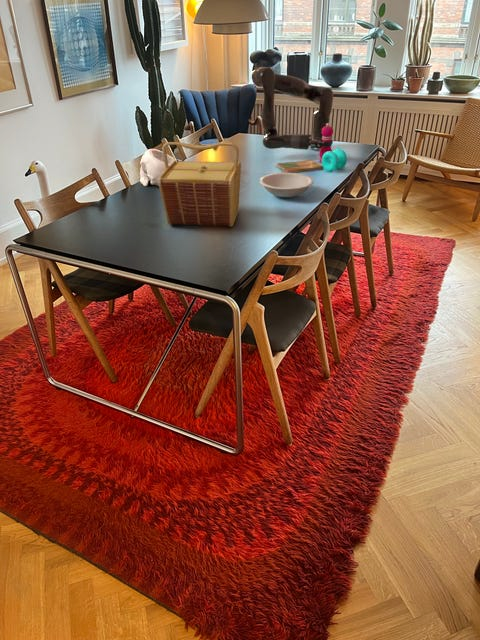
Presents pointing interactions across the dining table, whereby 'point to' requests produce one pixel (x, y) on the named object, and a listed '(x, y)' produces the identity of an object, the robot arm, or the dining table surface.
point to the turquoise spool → (334, 160)
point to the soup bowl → (286, 184)
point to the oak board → (299, 166)
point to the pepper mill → (326, 140)
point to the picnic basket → (200, 189)
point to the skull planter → (153, 166)
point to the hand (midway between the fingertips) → (331, 143)
